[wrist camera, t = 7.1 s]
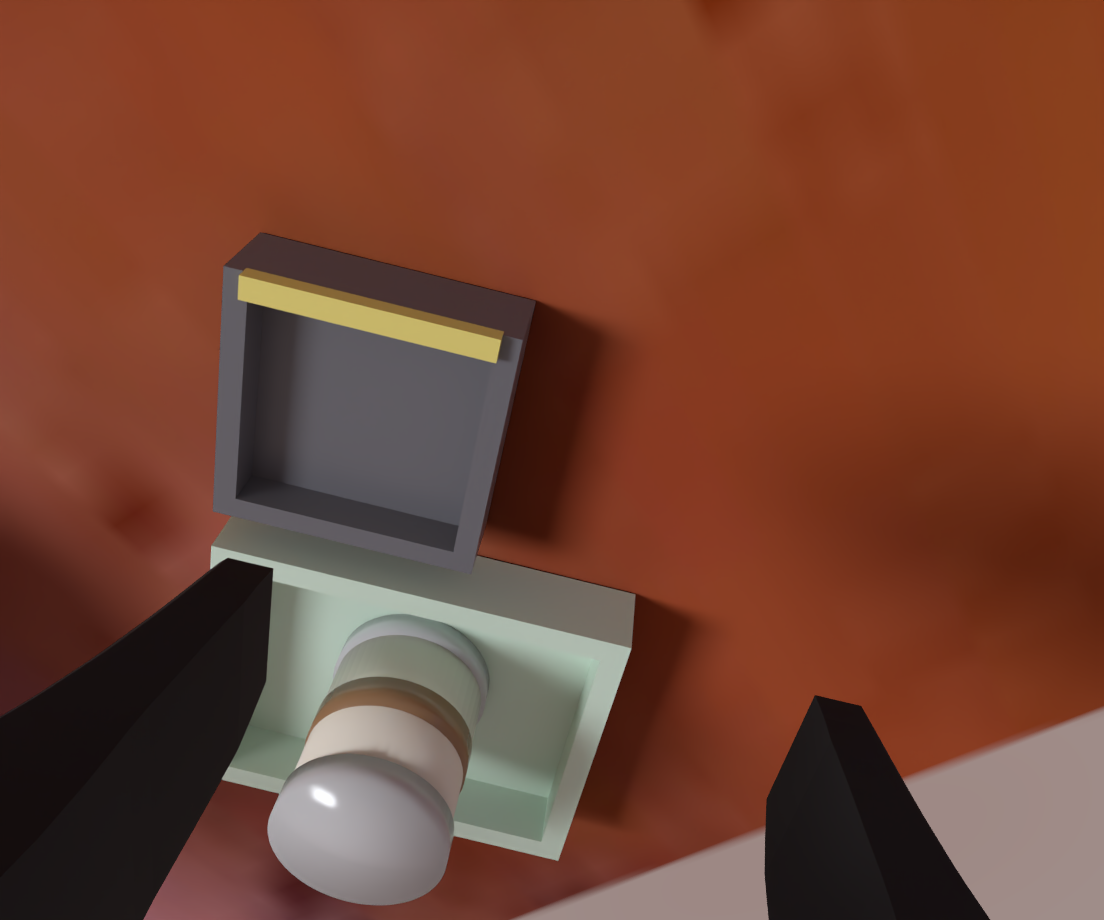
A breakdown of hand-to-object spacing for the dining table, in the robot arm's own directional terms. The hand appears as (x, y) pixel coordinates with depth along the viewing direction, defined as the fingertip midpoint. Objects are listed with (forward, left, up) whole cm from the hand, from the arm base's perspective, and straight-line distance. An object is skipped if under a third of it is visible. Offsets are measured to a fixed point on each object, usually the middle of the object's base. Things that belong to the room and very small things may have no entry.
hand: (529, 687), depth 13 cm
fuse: (+2, +10, -10) cm, 14 cm away
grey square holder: (+4, +2, -10) cm, 11 cm away
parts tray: (+2, +10, -10) cm, 15 cm away
